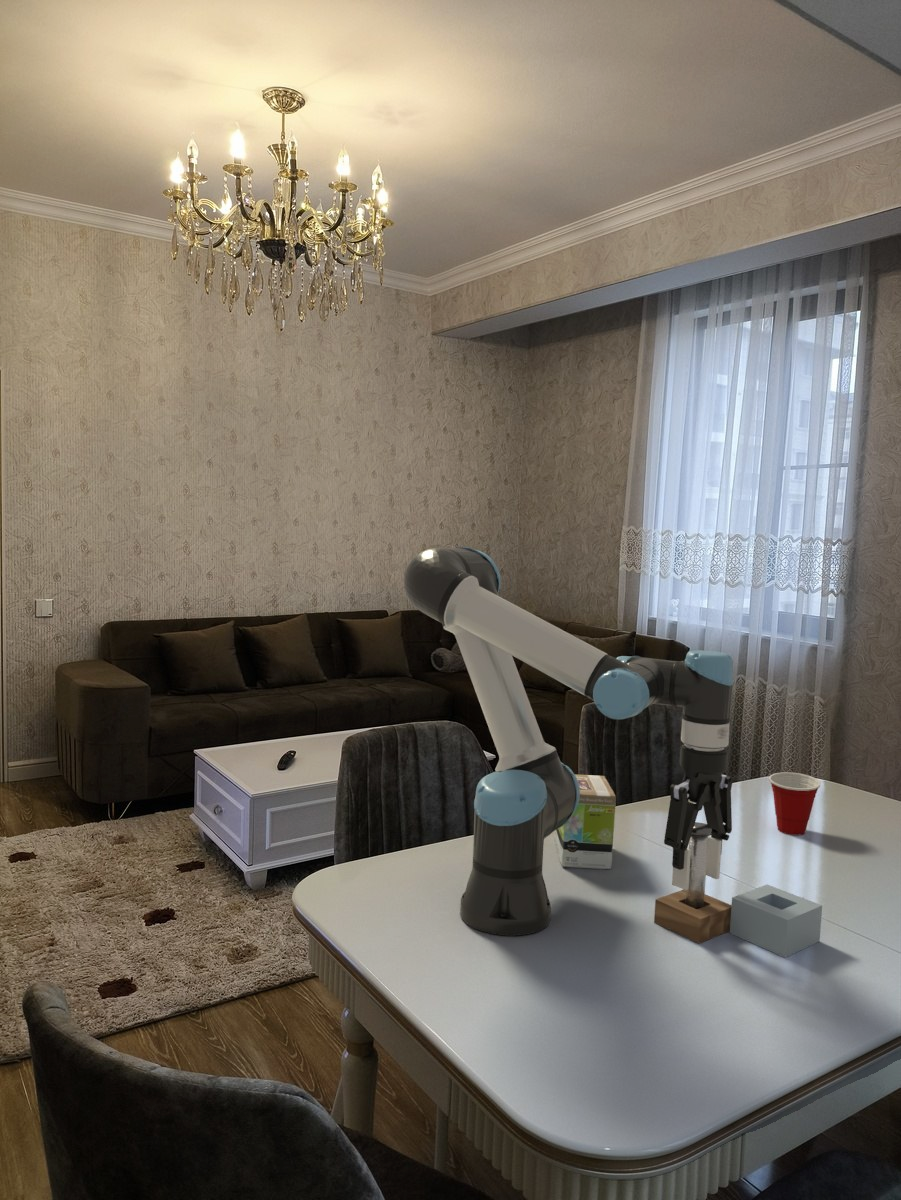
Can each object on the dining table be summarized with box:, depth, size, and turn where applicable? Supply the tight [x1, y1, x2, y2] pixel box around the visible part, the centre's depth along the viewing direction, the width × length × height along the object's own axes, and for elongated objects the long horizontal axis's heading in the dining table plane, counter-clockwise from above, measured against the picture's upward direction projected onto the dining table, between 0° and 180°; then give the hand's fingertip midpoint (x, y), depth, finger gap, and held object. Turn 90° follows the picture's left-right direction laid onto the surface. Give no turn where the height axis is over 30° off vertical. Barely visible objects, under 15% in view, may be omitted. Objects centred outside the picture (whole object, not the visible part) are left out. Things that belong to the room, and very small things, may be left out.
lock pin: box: [685, 821, 712, 909], centre depth 147 cm, size 4×4×17 cm
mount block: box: [653, 889, 732, 944], centre depth 148 cm, size 9×9×4 cm
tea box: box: [554, 773, 617, 870], centre depth 178 cm, size 15×10×15 cm, turn 179°
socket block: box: [729, 884, 823, 958], centre depth 145 cm, size 10×10×6 cm
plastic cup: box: [768, 771, 822, 836], centre depth 198 cm, size 11×11×12 cm
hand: (695, 881), depth 147 cm, fingers open, 8 cm apart
